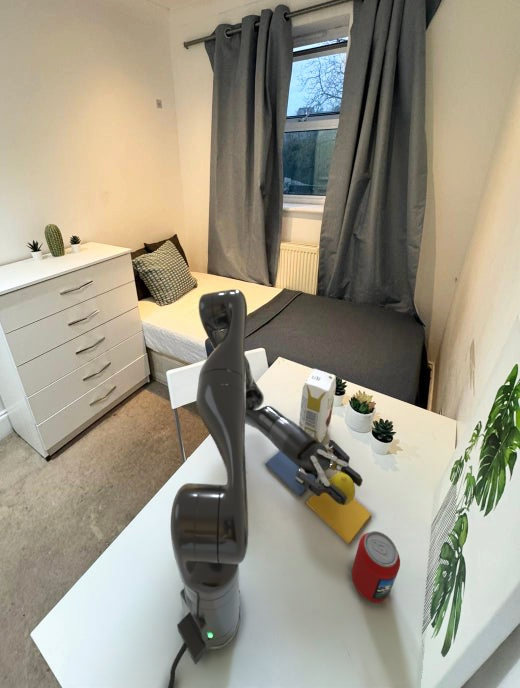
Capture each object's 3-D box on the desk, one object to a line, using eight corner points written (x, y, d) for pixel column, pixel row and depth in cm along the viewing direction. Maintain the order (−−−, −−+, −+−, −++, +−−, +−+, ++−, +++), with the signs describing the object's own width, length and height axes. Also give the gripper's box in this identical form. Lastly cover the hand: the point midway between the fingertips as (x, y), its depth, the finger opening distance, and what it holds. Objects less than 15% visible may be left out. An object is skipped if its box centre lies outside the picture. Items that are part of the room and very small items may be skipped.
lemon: (353, 514, 71) (359, 492, 67) (327, 510, 72) (331, 487, 68) (350, 489, 76) (355, 467, 72) (325, 485, 77) (329, 463, 73)
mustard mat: (348, 544, 69) (349, 542, 68) (306, 503, 76) (306, 501, 76) (370, 515, 74) (371, 513, 73) (328, 479, 81) (329, 477, 81)
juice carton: (296, 435, 93) (301, 383, 85) (305, 414, 100) (311, 365, 92) (322, 446, 90) (330, 394, 82) (330, 424, 96) (339, 374, 88)
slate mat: (299, 496, 78) (299, 495, 78) (265, 464, 86) (265, 462, 85) (321, 473, 83) (322, 471, 83) (288, 444, 91) (288, 443, 90)
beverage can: (386, 614, 59) (400, 580, 53) (347, 589, 62) (356, 555, 57) (391, 574, 64) (404, 540, 59) (354, 554, 67) (364, 519, 62)
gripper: (272, 446, 76) (336, 504, 64) (310, 414, 84) (374, 460, 72) (270, 467, 79) (331, 526, 67) (308, 434, 87) (368, 482, 75)
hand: (353, 491), depth 69 cm, fingers closed on lemon, 5 cm apart
